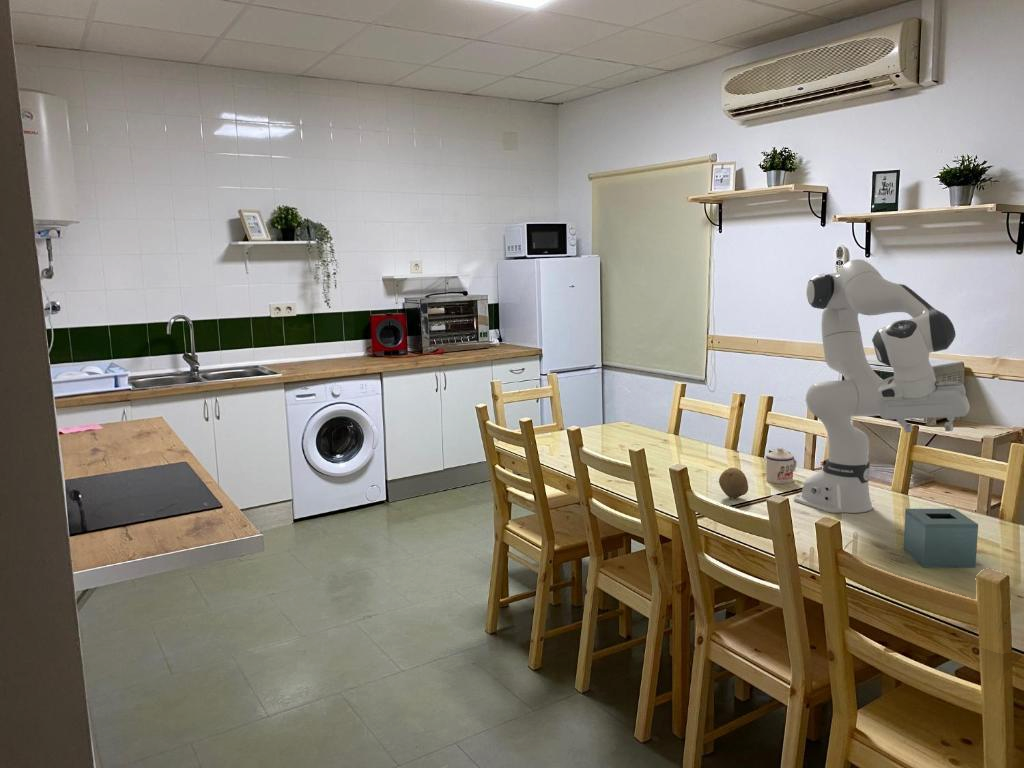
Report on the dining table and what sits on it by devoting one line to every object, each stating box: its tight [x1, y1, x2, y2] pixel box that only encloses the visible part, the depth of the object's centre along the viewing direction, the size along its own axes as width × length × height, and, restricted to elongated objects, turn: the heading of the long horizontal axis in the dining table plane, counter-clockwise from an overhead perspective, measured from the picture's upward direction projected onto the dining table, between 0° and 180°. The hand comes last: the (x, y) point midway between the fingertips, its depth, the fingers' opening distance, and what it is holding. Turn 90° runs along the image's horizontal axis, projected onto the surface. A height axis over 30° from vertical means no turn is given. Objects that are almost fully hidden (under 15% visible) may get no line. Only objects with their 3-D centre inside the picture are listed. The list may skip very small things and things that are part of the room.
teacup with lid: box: [765, 447, 798, 485], centre depth 262 cm, size 12×9×12 cm
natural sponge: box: [718, 467, 749, 500], centre depth 245 cm, size 9×9×10 cm
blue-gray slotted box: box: [903, 508, 979, 569], centre depth 190 cm, size 12×12×11 cm
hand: (929, 430), depth 193 cm, fingers open, 8 cm apart
